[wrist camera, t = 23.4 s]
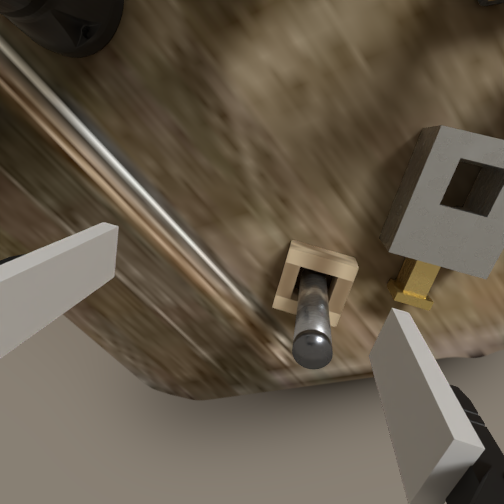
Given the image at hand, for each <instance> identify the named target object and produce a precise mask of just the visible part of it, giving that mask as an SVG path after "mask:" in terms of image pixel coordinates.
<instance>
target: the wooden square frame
mask: <svg viewBox="0 0 504 504" xmlns="http://www.w3.org/2000/svg"><path fill="white" fill-rule="evenodd" d="M300 266H301V267H304V268H308V269H311V270H314V271H318V272H321V273H325V274H328V275H332V276H333V277H332V280H331V282H330V285H329V288H328V291H327V293H328V305H329V317H330V325H331V326H334V327H336V325H337V323H338V320H339V318H340V315H341V313H342V310H343V308H344V305H345V302H346V300H347V297H348V295H349V292H350V290H351V287H352V284H353V282H354V279H355V277H356V274H357V272H358V269H359V267H358V264H357V261H356V259H355V257H351V256H348V255H344V254H341V253H337V252H334V251H330V250H327V249H323V248H320V247H316V246H312V245H309V244H305V243H302V242H298V241H295V240H292V241H291V244H290V248H289V251H288V254H287V258H286V261H285V265H284V268H283V271H282V275H281V278H280V281H279V285H278V288H277V291H276V295H275V299H274V302H273V306H272V308H275V309H279V310H282V311H285V312H288V313H292V314H295V315H296V313H297V305H298V296H299V289H296V288H294V285H295V282H296V279H297V276H298V273H299V269H300Z"/></svg>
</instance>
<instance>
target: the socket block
mask: <svg viewBox="0 0 504 504" xmlns="http://www.w3.org/2000/svg"><path fill="white" fill-rule="evenodd" d="M459 161H460V162H465V163H469V164H473V165H477V166H481V167H482V168H481V170H480V172H479V174H478V176H477V179H476V181H475V183H474V185H473V187H472V189H471V191H470V193H469V195H468V197H467V199H466V201H465V204H464V206H463V207H459V206H456V207H455V208H453V207H450V206H446V205H442V204H440V202H441V200H442V198H443V196H444V194H445V191H446V189H447V187H448V185H449V183H450V180H451V178H452V176H453V174H454V172H455V169H456V167H457V165H458V163H459ZM379 239H380V240H381V242H382V243H383V245H384V246H385V247H386V249H387V250H388V252H390V253H394V254H397V255H401V256H405V257H408V258H412V259H415V260H419V261H422V262H426V263H430V264H433V265H437V266H440V267H444V268H447V269H451V270H455V271H458V272H462V273H465V274H469V275H472V276H476V277H480V278H483V279H487V277H488V276H489V274H490V272H491V270H492V268H493V267H494V265H495V263H496V261H497V259H498V258H499V256H500V254H501V252H502V250H503V248H504V140H502V139H498V138H493V137H489V136H485V135H481V134H477V133H472V132H468V131H464V130H460V129H455V128H451V127H447V126H443V125H440V126H434V127H428V128H423V129H422V132H421V134H420V137H419V139H418V142H417V144H416V147H415V149H414V152H413V154H412V157H411V159H410V162H409V164H408V167H407V169H406V172H405V174H404V177H403V179H402V182H401V184H400V187H399V189H398V192H397V194H396V197H395V199H394V202H393V204H392V207H391V209H390V212H389V214H388V217H387V219H386V222H385V224H384V227H383V229H382V232H381V234H380V237H379Z"/></svg>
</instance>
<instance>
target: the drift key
mask: <svg viewBox="0 0 504 504" xmlns="http://www.w3.org/2000/svg"><path fill="white" fill-rule="evenodd" d="M440 268H441V267H440V266H437V265H433V264H430V263H426V262H422V261H419V260H415V259H412V258H408V257H406V258H405V260H404V263H403V265H402V267H401V269H400V272H399V274H398V276H397V278H396V280H394V279H391V278H390V279H389V282H388V284H387V288H388V290H389V291H390V293H391V295H392V297H393V299H394V300H395V301H398V302H402V303H405V304H408V305H412V306H415V307H418V308H422V309H425V310H429V311H430V309H431V307H432V305H433V303H434V302H433V301H432V300H431V298H430V297H429V296H428V292H429V290H430V288H431V286H432V284H433V282H434V280H435V278H436V276H437V274H438V272H439V270H440Z"/></svg>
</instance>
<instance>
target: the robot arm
mask: <svg viewBox="0 0 504 504" xmlns="http://www.w3.org/2000/svg"><path fill="white" fill-rule="evenodd" d="M123 5H124V0H0V13H1V14H3V15H4V16H5V17H7V18H8V19H9V20H10V21H11V22H12V23H14V24H15V25H16V26H17V27H18V28H19V29H21V30H22V31H23V32H24V33H25V34H26V35H28V36H29V37H30V38H31V39H32V40H33V41H35V42H36V43H38V44H39V45H41V46H43V47H44V48H46V49H48V50H51V51H53V52H56V53H59V54H61V55H64V56H68V57H85V56H89V55H91V54H94V53H96V52H97V51H99V50H100V49H102V48H103V47H104V46H105V45H106V44H107V43H108V42H109V41H110V39H111V38H112V36H113V35H114V33H115V31H116V29H117V27H118V25H119V22H120V19H121V15H122V11H123ZM117 239H118V226H115V225H112V224H108V223H105V222H103V223H100V224H98V225H96V226H93V227H91V228H88V229H86V230H84V231H81V232H79V233H76V234H74V235H71V236H69V237H67V238H64V239H62V240H59V241H57V242H55V243H52V244H50V245H47V246H45V247H43V248H40V249H38V250H35V251H33V252H31V253H28V254H23V255H18V256H13V257H8V258H6V259H3V260H1V261H0V358H2V357H3V356H5V355H6V354H8V353H9V352H10V351H12V350H13V349H15V348H16V347H17V346H19V345H20V344H21V343H23V342H24V341H26V340H27V339H28V338H30V337H31V336H33V335H34V334H35V333H37V332H38V331H40V330H41V329H42V328H44V327H45V326H46V325H48V324H49V323H51V322H52V321H53V320H55V319H56V318H58V317H59V316H61V315H62V314H63V313H65V312H66V311H68V310H69V309H70V308H72V307H73V306H74V305H76V304H77V303H79V302H80V301H81V300H83V299H84V298H86V297H87V296H88V295H90V294H91V293H93V292H94V291H95V290H97V289H98V288H100V287H101V286H102V285H104V284H105V283H107V282H108V281H109V280H111V279H112V278H114V274H115V262H116V251H117ZM369 358H370V362H371V366H372V369H373V373H374V377H375V381H376V384H377V388H378V392H379V395H380V399H381V403H382V407H383V411H384V414H385V418H386V422H387V426H388V430H389V433H390V437H391V441H392V444H393V448H394V452H395V455H396V459H397V463H398V467H399V471H400V475H401V478H402V482H403V485H404V490H405V493H406V497H407V501H408V504H444V503H445V502H447V504H504V455H503V453H502V452H501V450H500V448H499V447H498V445H497V444H496V442H495V440H494V439H493V437H492V435H491V434H490V432H489V430H488V429H487V427H485V424H484V422H483V420H482V419H481V417H480V416H478V412H477V410H476V409H475V407H474V406H473V404H472V402H471V401H470V399H469V398H468V397H467V396H466V395H465V394H464V393H463V392H462V391H461V390H460V389H459V388H458V387H456V386H453V385H449V383H448V382H447V380H446V378H445V376H444V375H443V373H442V371H441V369H440V367H439V365H438V364H437V362H436V360H435V358H434V357H433V355H432V353H431V351H430V349H429V348H428V346H427V344H426V342H425V340H424V339H423V337H422V335H421V333H420V331H419V330H418V328H417V326H416V324H415V323H414V321H413V319H412V317H411V315H410V314H409V313H408V312H405V311H402V310H398V309H395V308H391V310H390V313H389V315H388V317H387V319H386V321H385V323H384V325H383V327H382V329H381V331H380V334H379V336H378V338H377V340H376V342H375V344H374V346H373V348H372V350H371V352H370V354H369Z"/></svg>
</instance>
